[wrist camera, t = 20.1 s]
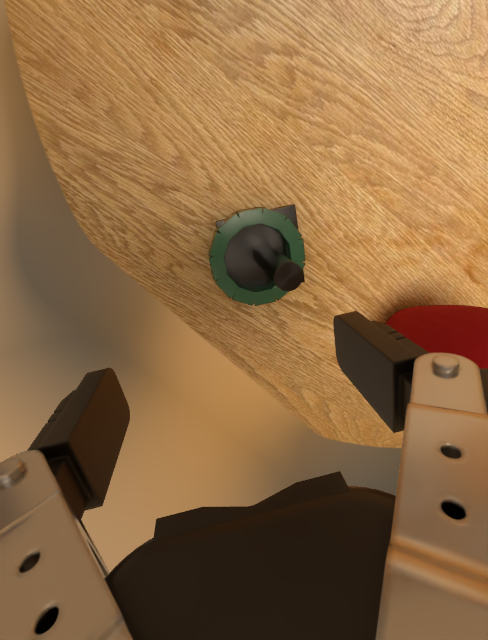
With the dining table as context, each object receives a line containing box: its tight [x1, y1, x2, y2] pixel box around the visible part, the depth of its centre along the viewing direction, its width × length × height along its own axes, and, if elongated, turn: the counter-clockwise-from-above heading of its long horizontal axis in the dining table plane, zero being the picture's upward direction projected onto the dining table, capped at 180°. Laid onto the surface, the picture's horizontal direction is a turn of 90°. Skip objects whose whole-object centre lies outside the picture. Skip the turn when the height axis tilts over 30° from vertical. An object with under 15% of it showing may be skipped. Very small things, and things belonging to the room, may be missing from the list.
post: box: [216, 205, 305, 291], centre depth 31 cm, size 9×9×13 cm
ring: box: [209, 207, 305, 306], centre depth 35 cm, size 10×10×2 cm
